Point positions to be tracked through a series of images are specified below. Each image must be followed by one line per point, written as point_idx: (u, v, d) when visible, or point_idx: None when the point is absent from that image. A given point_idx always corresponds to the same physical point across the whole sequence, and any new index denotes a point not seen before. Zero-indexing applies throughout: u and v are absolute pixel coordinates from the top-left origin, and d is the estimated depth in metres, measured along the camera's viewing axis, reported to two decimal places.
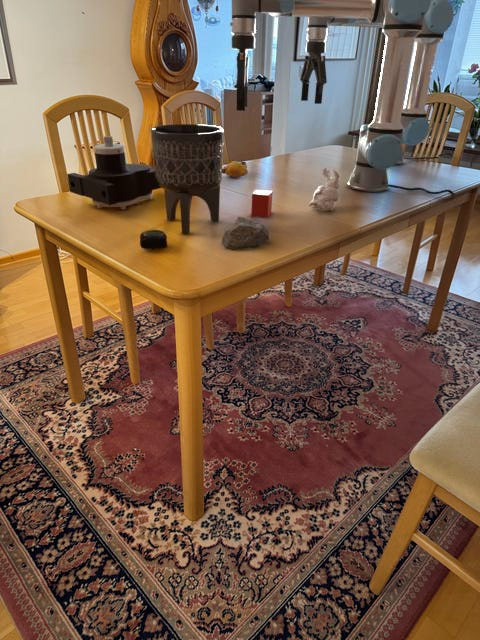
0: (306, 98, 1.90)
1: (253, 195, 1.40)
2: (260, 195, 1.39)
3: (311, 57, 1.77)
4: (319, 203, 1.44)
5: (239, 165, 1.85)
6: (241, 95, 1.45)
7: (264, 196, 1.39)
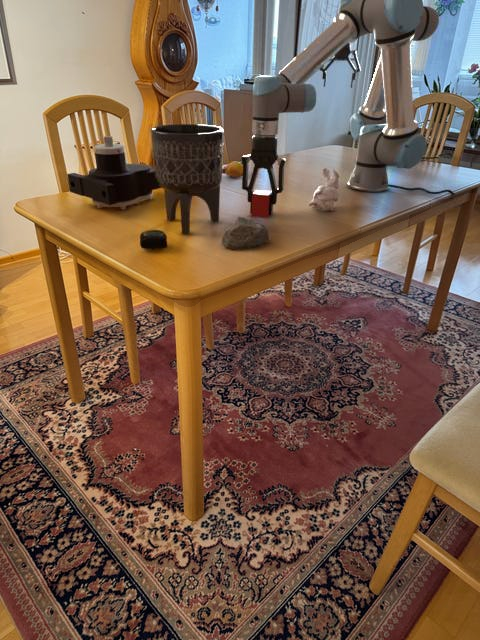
0: (325, 84, 2.33)
1: (253, 195, 1.40)
2: (260, 195, 1.39)
3: (340, 51, 2.23)
4: (319, 203, 1.44)
5: (239, 165, 1.85)
6: (276, 200, 1.42)
7: (264, 196, 1.39)
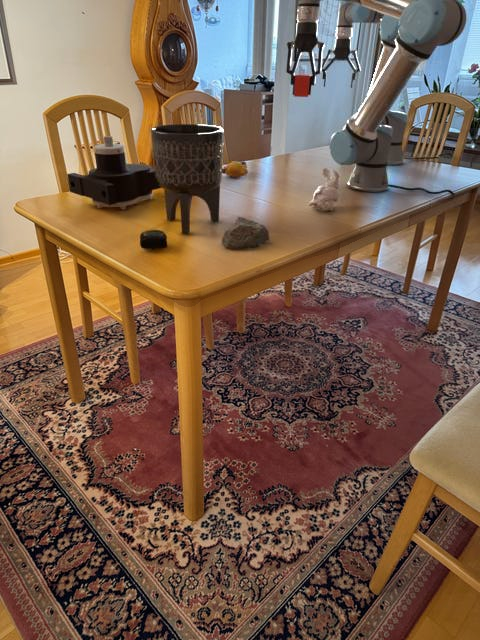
0: (325, 84, 2.33)
1: (296, 76, 1.67)
2: (302, 76, 1.66)
3: (340, 51, 2.23)
4: (319, 203, 1.44)
5: (239, 165, 1.85)
6: None
7: (306, 76, 1.66)
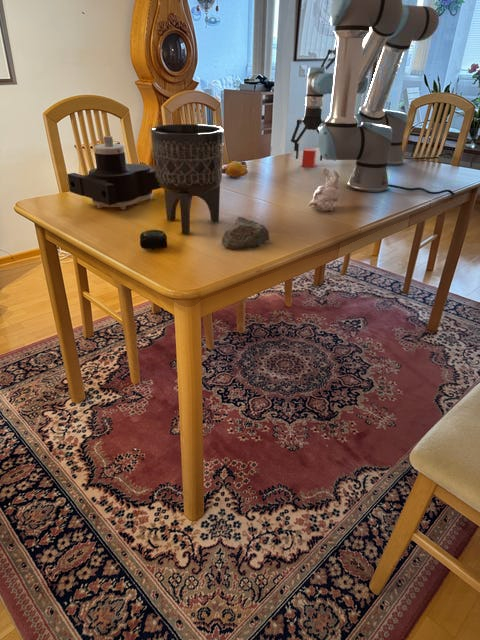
0: None
1: (304, 151, 2.07)
2: (309, 151, 2.06)
3: None
4: (319, 203, 1.44)
5: (239, 165, 1.85)
6: None
7: (311, 152, 2.06)
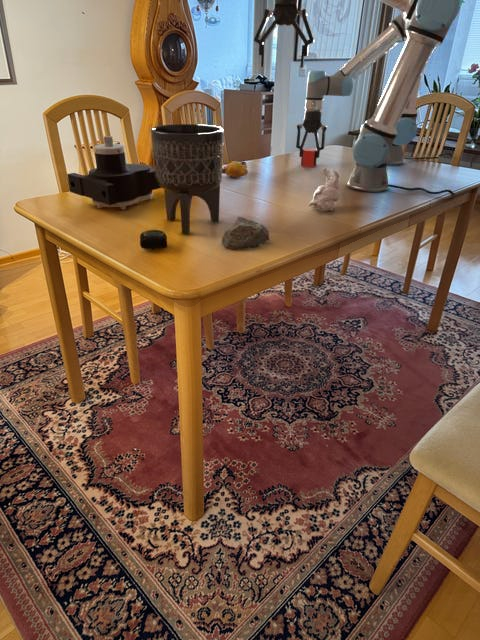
0: None
1: (304, 151, 2.07)
2: (309, 151, 2.06)
3: (310, 123, 2.02)
4: (319, 203, 1.44)
5: (239, 165, 1.85)
6: (307, 52, 1.52)
7: (311, 152, 2.06)
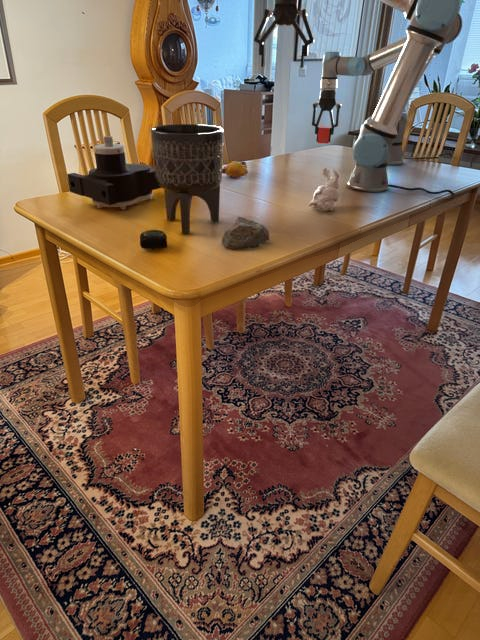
0: None
1: (319, 128, 2.21)
2: (324, 128, 2.20)
3: (325, 102, 2.16)
4: (319, 203, 1.44)
5: (239, 165, 1.85)
6: (307, 52, 1.52)
7: (326, 129, 2.20)
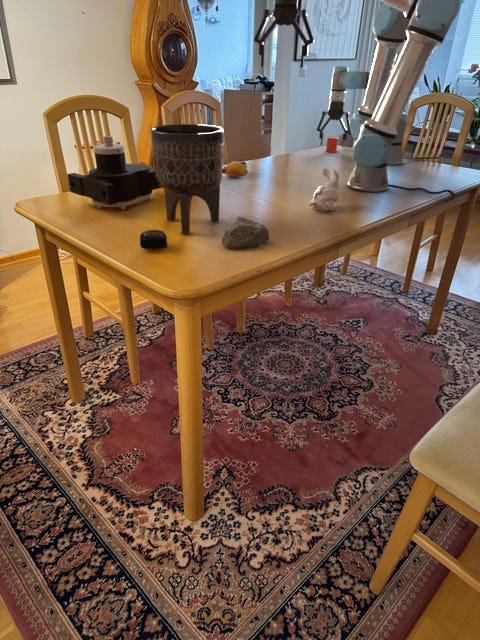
0: (322, 143, 2.46)
1: (328, 138, 2.41)
2: (332, 138, 2.40)
3: (334, 112, 2.35)
4: (319, 203, 1.44)
5: (239, 165, 1.85)
6: (307, 52, 1.52)
7: (334, 139, 2.40)
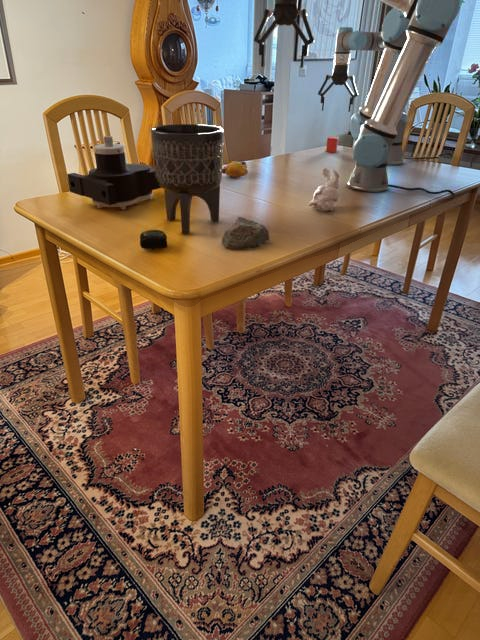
0: (323, 108, 2.37)
1: (328, 138, 2.41)
2: (332, 138, 2.40)
3: (338, 76, 2.27)
4: (319, 203, 1.44)
5: (239, 165, 1.85)
6: (307, 52, 1.52)
7: (334, 139, 2.40)
